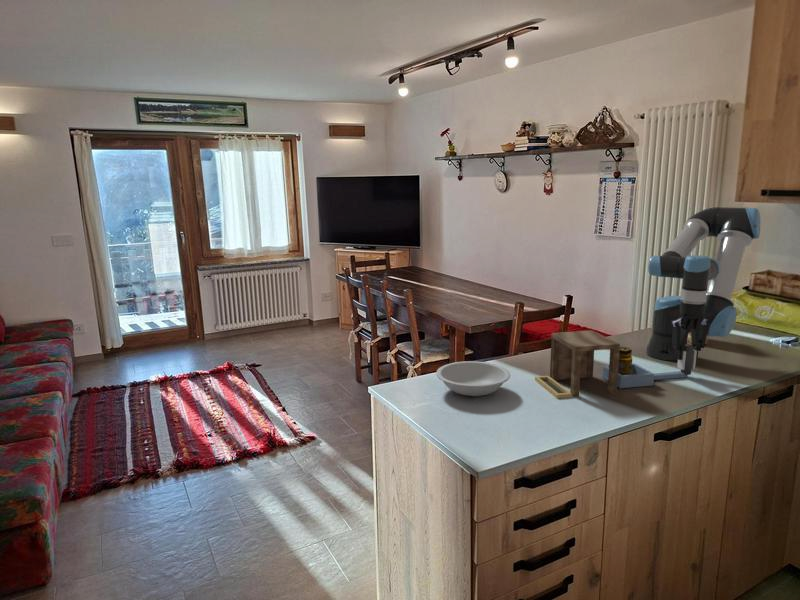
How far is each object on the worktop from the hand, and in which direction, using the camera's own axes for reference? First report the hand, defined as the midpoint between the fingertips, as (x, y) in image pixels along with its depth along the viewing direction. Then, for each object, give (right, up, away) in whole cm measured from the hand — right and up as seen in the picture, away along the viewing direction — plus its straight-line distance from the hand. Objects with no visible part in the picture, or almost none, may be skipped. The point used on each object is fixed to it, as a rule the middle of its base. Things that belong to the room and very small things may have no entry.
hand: (685, 367), depth 186 cm
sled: (-13, -4, -2) cm, 14 cm away
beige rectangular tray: (-48, -6, -7) cm, 49 cm away
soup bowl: (-75, -7, -9) cm, 76 cm away
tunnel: (-38, -5, -6) cm, 39 cm away
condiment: (-24, -5, -3) cm, 25 cm away
